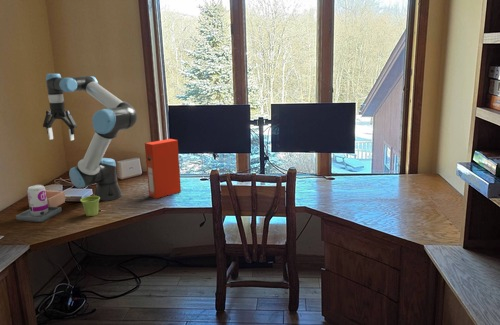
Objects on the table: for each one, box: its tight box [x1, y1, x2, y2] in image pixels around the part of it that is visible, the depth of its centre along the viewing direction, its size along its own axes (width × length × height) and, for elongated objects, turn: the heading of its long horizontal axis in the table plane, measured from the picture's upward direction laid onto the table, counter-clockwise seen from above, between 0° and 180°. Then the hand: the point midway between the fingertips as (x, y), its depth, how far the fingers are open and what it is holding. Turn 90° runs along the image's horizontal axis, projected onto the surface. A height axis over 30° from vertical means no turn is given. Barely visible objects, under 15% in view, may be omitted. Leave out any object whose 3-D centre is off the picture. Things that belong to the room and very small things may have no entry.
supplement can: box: [27, 184, 49, 217], centre depth 209 cm, size 8×8×15 cm
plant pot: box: [80, 195, 100, 217], centre depth 211 cm, size 9×9×9 cm
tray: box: [15, 206, 63, 223], centre depth 211 cm, size 15×15×2 cm
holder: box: [27, 190, 66, 208], centre depth 226 cm, size 13×13×6 cm
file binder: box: [144, 138, 182, 200], centre depth 239 cm, size 8×17×32 cm, turn 135°
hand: (61, 139), depth 230 cm, fingers open, 13 cm apart
